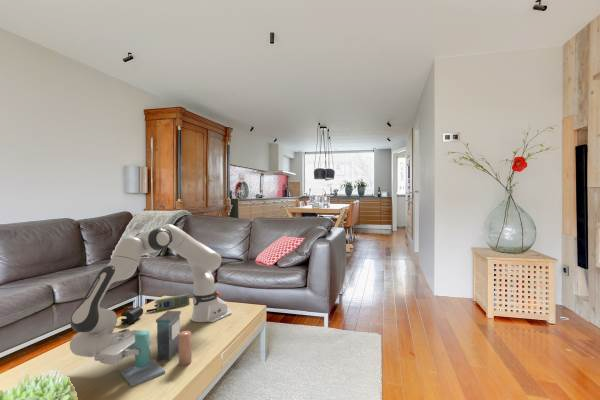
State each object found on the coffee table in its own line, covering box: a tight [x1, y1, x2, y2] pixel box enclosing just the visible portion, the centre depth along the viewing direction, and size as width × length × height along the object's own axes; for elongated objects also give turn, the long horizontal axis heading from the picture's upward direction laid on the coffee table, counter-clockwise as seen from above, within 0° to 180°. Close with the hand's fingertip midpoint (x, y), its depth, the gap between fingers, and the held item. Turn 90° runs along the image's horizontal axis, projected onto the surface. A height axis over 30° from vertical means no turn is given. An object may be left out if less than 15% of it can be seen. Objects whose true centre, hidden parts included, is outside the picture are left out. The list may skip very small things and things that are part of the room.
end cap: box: [120, 305, 144, 325], centre depth 172 cm, size 10×7×7 cm
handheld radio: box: [146, 293, 190, 313], centre depth 191 cm, size 7×3×25 cm
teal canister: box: [134, 330, 151, 368], centre depth 120 cm, size 5×5×12 cm
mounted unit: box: [155, 310, 182, 362], centre depth 134 cm, size 10×6×17 cm, turn 176°
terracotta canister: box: [177, 330, 192, 366], centre depth 128 cm, size 5×5×12 cm
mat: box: [120, 359, 166, 387], centre depth 120 cm, size 12×12×1 cm
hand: (144, 347), depth 120 cm, fingers closed on teal canister, 5 cm apart
